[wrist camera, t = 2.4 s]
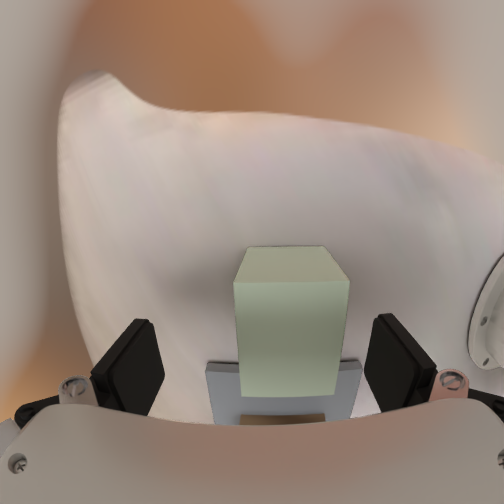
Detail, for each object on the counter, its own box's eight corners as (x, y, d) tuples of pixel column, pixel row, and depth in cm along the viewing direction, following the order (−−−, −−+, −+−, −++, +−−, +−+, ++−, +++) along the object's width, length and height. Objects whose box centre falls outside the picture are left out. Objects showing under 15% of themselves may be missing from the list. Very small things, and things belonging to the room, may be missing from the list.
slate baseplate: (359, 360, 17) (362, 368, 16) (327, 471, 22) (328, 478, 21) (208, 362, 18) (205, 370, 17) (228, 471, 23) (227, 478, 22)
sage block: (323, 246, 16) (349, 280, 10) (318, 333, 17) (333, 394, 11) (248, 247, 16) (233, 282, 10) (251, 335, 18) (241, 396, 12)
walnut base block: (324, 413, 18) (330, 452, 14) (312, 461, 20) (315, 493, 16) (240, 414, 18) (234, 453, 14) (246, 462, 20) (241, 494, 16)
